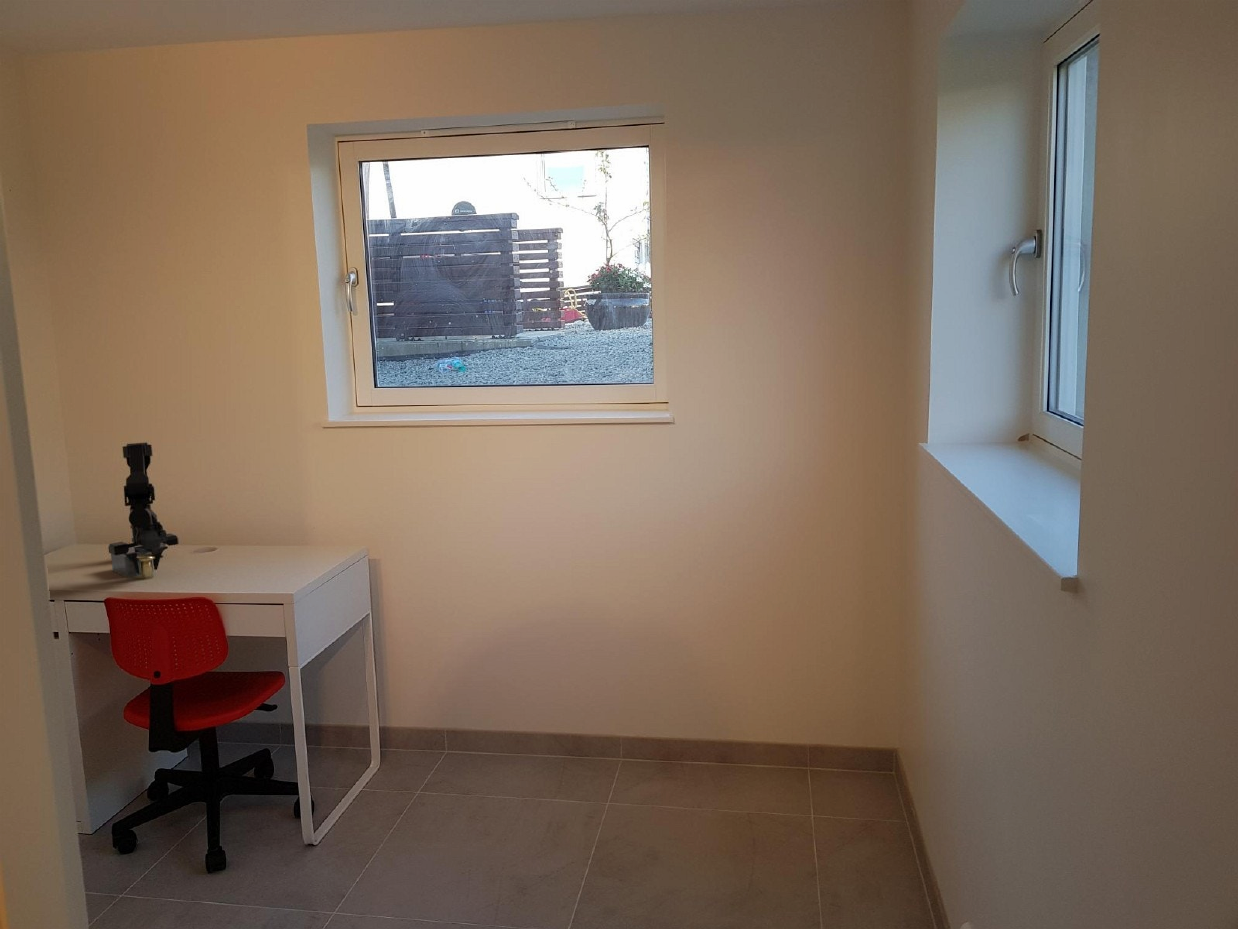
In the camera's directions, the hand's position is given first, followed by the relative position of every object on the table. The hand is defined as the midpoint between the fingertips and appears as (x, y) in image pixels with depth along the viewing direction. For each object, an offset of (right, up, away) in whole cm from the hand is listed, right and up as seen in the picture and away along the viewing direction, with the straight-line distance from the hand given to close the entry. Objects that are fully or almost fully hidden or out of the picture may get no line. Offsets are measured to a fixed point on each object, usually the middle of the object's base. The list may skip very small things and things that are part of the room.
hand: (146, 571), depth 302 cm
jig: (-8, -1, +9) cm, 12 cm away
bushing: (0, -2, 0) cm, 2 cm away
